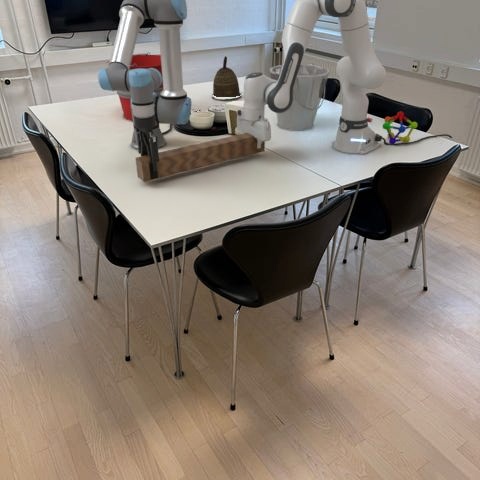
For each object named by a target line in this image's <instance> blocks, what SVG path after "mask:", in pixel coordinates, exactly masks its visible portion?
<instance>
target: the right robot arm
mask: <svg viewBox="0 0 480 480" xmlns="http://www.w3.org/2000/svg"><path fill="white" fill-rule="evenodd" d="M322 16H327V17H332V18H338V22H339V31H340V39H341V45H342V49H343V51H344V52H345V53H346V55H347V56H346V55H345V56H343V57H341V58H340V59H339V60H338V61H337V64H336V67H335V73H336V75H337V77H338V79H339V82H340V86H341V87H340V88H341V93H342V104H341V115H340V116H339V121H338V127H337V131H336V135H335V139H334V140H333V144H334V145H333V149H335V150H336V151H338V152H341V153H347V154H360V155H365V154H367V153H370V152H372V151H373V150H376V149H378V148H380V147H381V144H380V142H382V140H383V144H384V145H385V146H401V145H410V144H415V143H418V142H420V141H423V140H426V139H430V138H438V137H449V138H450V139H453V137H452V135H451V134H447V133H446V134H445V133H443V134H436V135H429V136H425V137H421V138H419V139H417V140H413V141H409V142H398V143H397V142H396V143H395V144H390V143H388V142H387V141H386V138H384V137H383V136H382V135H381V134H379V133H376V132H375V131H374V130H373V129H372V128H371V127H370V126H369V124H368V123H370V124H372V122H373V118H371V117H367V115H368V110H369V104H370V103H369V98H368V96H367V93H366V90H375V89H376V90H377V89H379V88H380V87H381V86H382V85H383V83H384V82H385V79H386V77H387V76H386V75H387V71H386V68H385V67H384V66H383V64H382V63H381V62H380V61H379V59H378V56H377V54H376V52H375V50H374V49H375V48H374V46H373V43H372V39H371V31H370V22H369V15H368V9H367V6H366V1H365V0H295V1H294V3H293V5H292V7H291V9H290V11H289V13H288V15H287V18H286V21H285V24H284V26H283V30H282V36H281V44H282V50H283V55H284V56H283V63H282V65H283V67H282V70H281V73H280V76H279V79H278V81H277V80H273V79H271V77H269V76H267V75H265V73H263V72H257V71H256V72H252V73H249V74H247V76H245V78H244V82H243V83H244V84H243V99H244V102H243V107H242V108H239V109H236V128H237V130H238V131H239V132H242V133H243V134H244V133H248V134H250V135H252V136H254V137H255V138H257V141H258V142H257V144H256V148H261V143H262V142H263V141H264V142H265V143H266V142H268V141H270V140H272V139H271V138H272V128H271V124H270V121H269V120H268V118H266V117H265V111H266V110H265V106H266V105H267V107H268V108H269V110H270V111H271V112H273V113H275V114H277V113H283V112H285V111H287V110H288V109H289V108H290V107H291V105H292V102H293V87H294V83H295V80H296V77H297V74H298V71H299V68H300V64H302V61H303V58H304V56H305V53H306V50H307V48H308V45H309V43H310V40H311V38H312V36H313V32H314V30H315V26H316V24H317V22H318V21H319V19H320V18H321V17H322ZM365 89H366V90H365Z"/></svg>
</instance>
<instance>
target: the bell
mask: <svg viewBox="0 0 480 480" xmlns="http://www.w3.org/2000/svg"><path fill="white" fill-rule="evenodd" d="M227 63H228V57H227V56H224V58H223V63H222V67H221V68H219V69H218V70H217V71H216V73H215V75H214V78H213V81H212V83H213V84H212V95H214V96H216V97H236V96H240V95H241V96H242V93H241V92H240V83H239V80H238V79H239V78H238V77H237V75H236V73H235V72H234V70H232V69H231V68H230V67H227Z"/></svg>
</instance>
